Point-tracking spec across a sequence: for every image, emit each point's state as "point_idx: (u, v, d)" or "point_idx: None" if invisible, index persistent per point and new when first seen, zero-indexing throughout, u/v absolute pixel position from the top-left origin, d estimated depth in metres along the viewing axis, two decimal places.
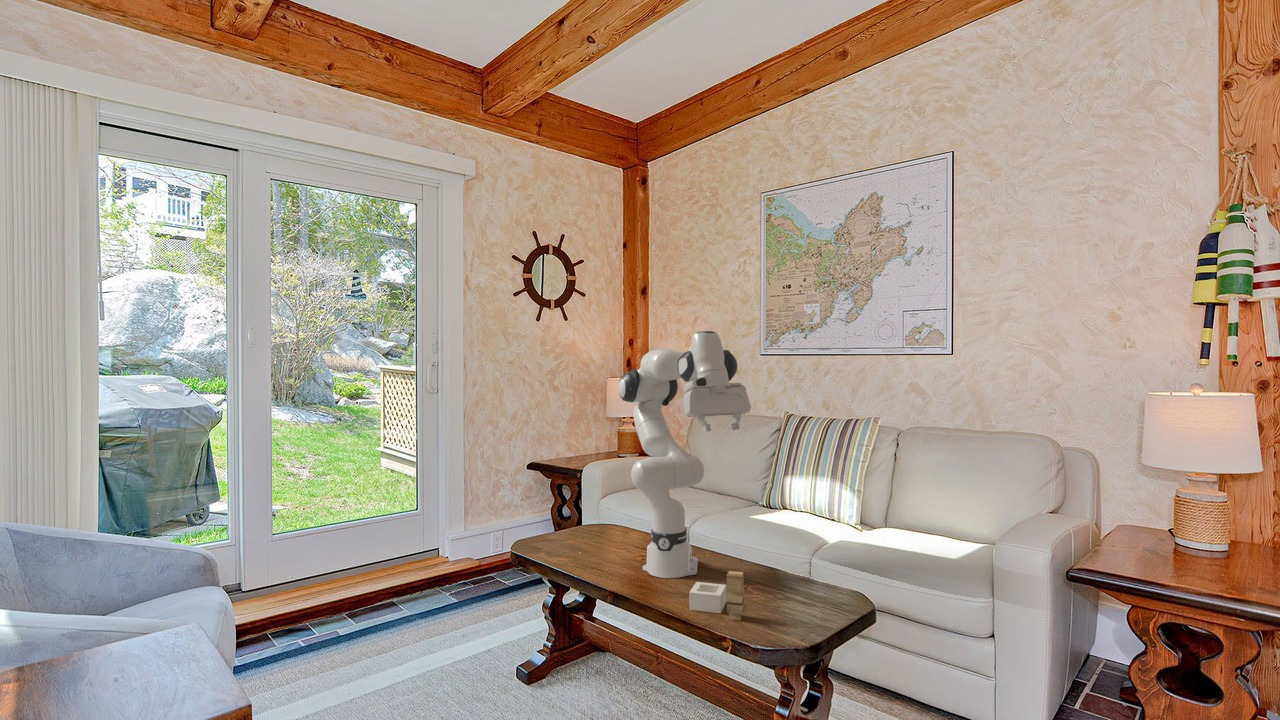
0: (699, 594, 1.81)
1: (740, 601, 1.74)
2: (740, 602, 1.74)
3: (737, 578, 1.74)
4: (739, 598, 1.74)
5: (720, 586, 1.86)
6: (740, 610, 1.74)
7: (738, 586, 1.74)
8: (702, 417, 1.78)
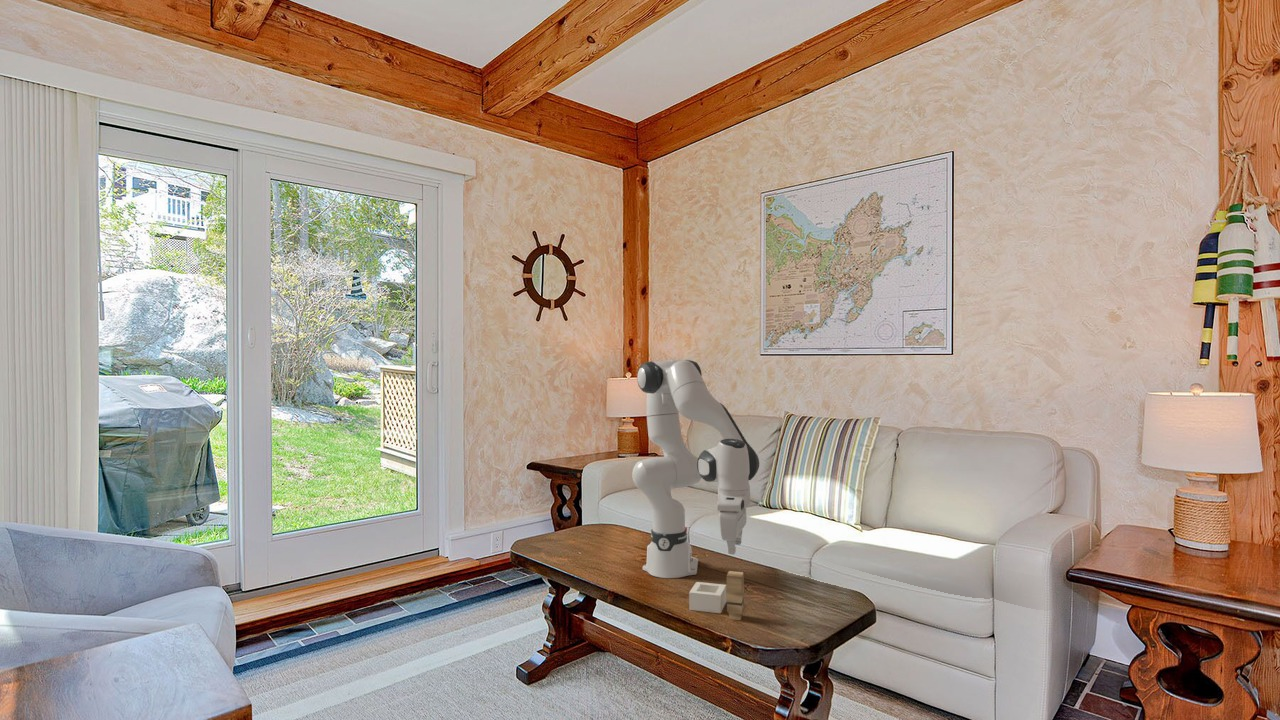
0: (699, 594, 1.81)
1: (740, 601, 1.74)
2: (740, 602, 1.74)
3: (737, 578, 1.74)
4: (739, 598, 1.74)
5: (720, 586, 1.86)
6: (740, 610, 1.74)
7: (738, 586, 1.74)
8: (734, 541, 1.70)
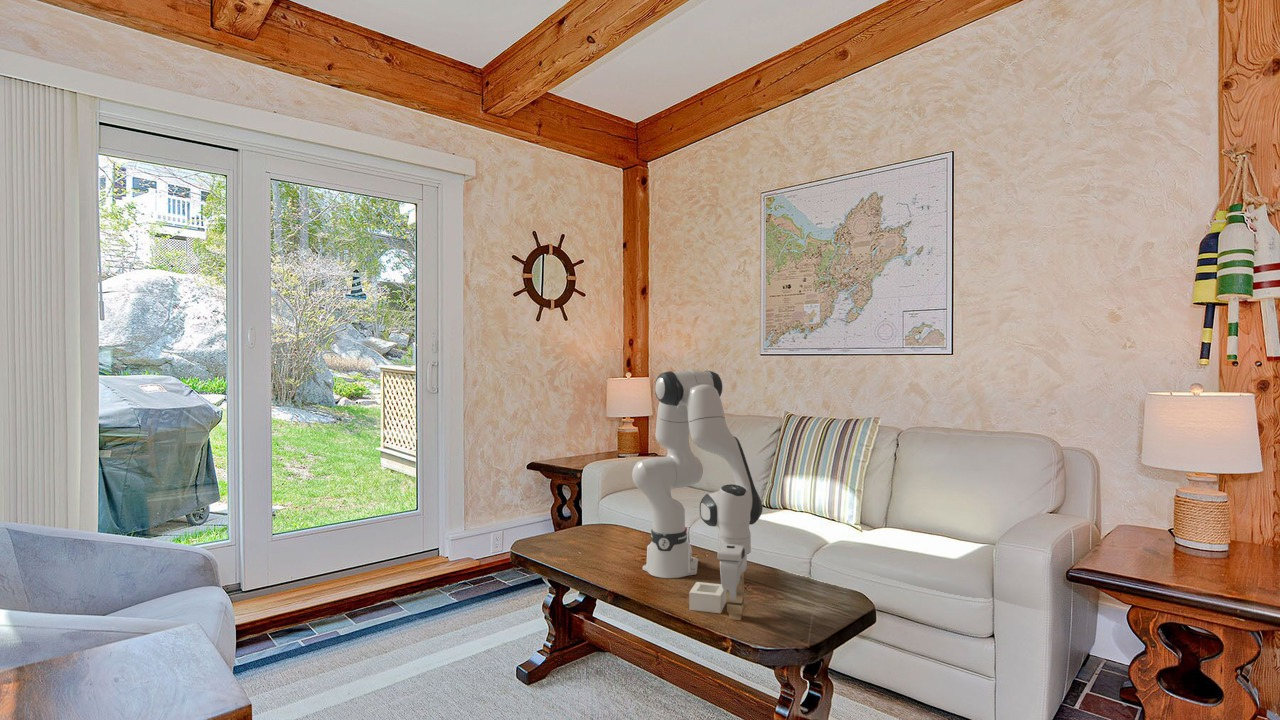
0: (699, 594, 1.81)
1: (740, 601, 1.74)
2: (740, 602, 1.74)
3: None
4: (739, 598, 1.74)
5: (720, 586, 1.86)
6: (740, 610, 1.74)
7: (738, 586, 1.74)
8: (736, 587, 1.72)
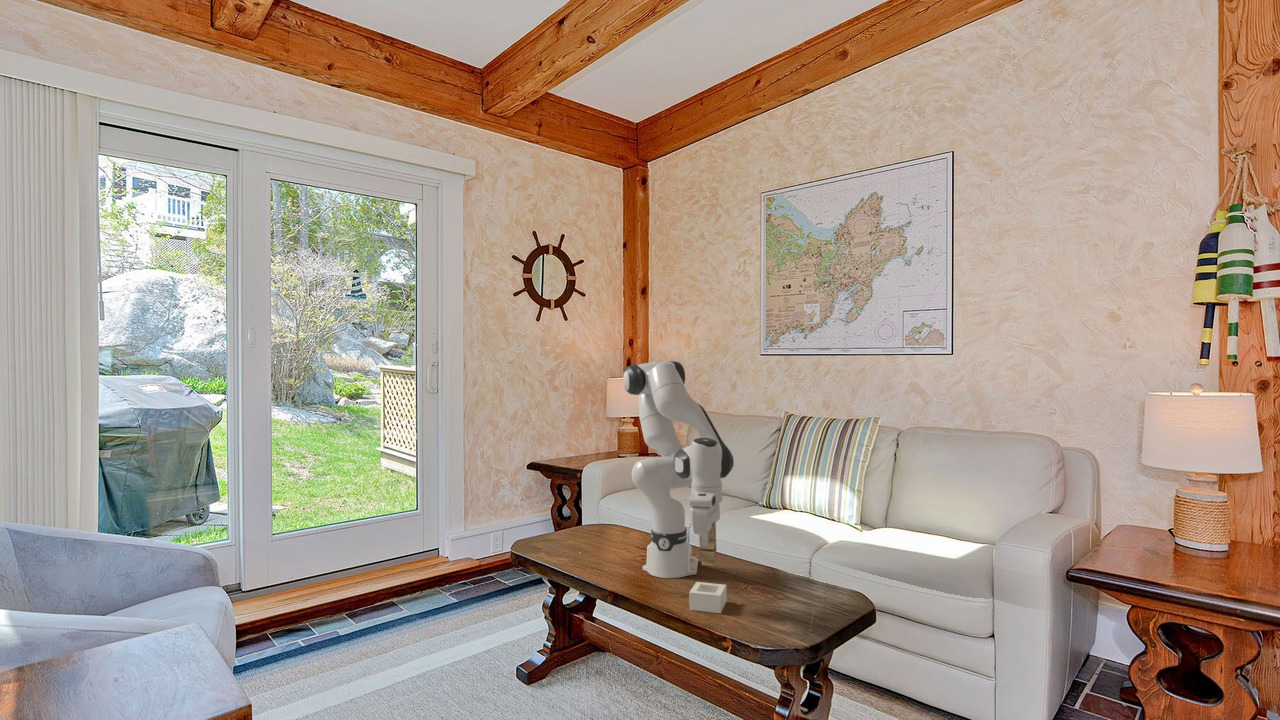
0: (699, 594, 1.81)
1: (712, 547, 1.82)
2: (712, 548, 1.82)
3: None
4: (711, 544, 1.82)
5: (720, 586, 1.86)
6: (712, 556, 1.82)
7: (710, 533, 1.82)
8: (708, 533, 1.80)
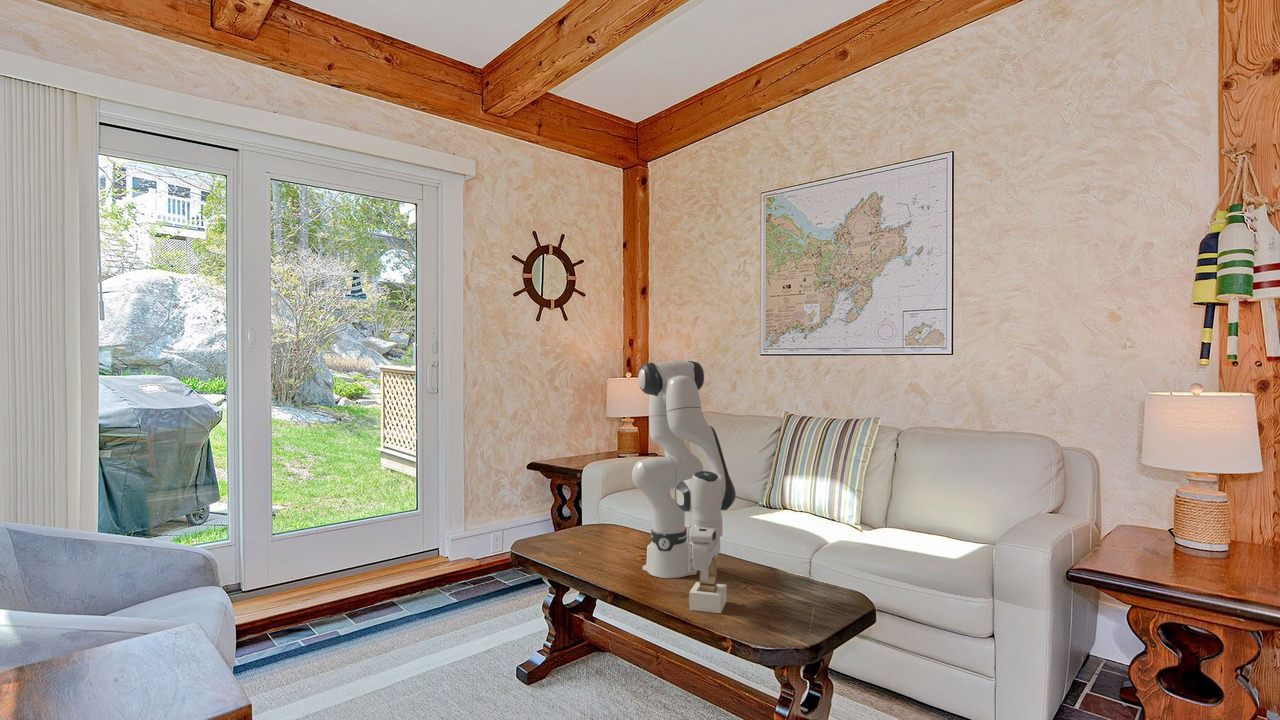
0: (699, 594, 1.81)
1: (712, 582, 1.82)
2: (712, 583, 1.82)
3: None
4: (711, 579, 1.82)
5: (720, 586, 1.86)
6: (712, 590, 1.82)
7: (710, 567, 1.82)
8: (708, 568, 1.80)
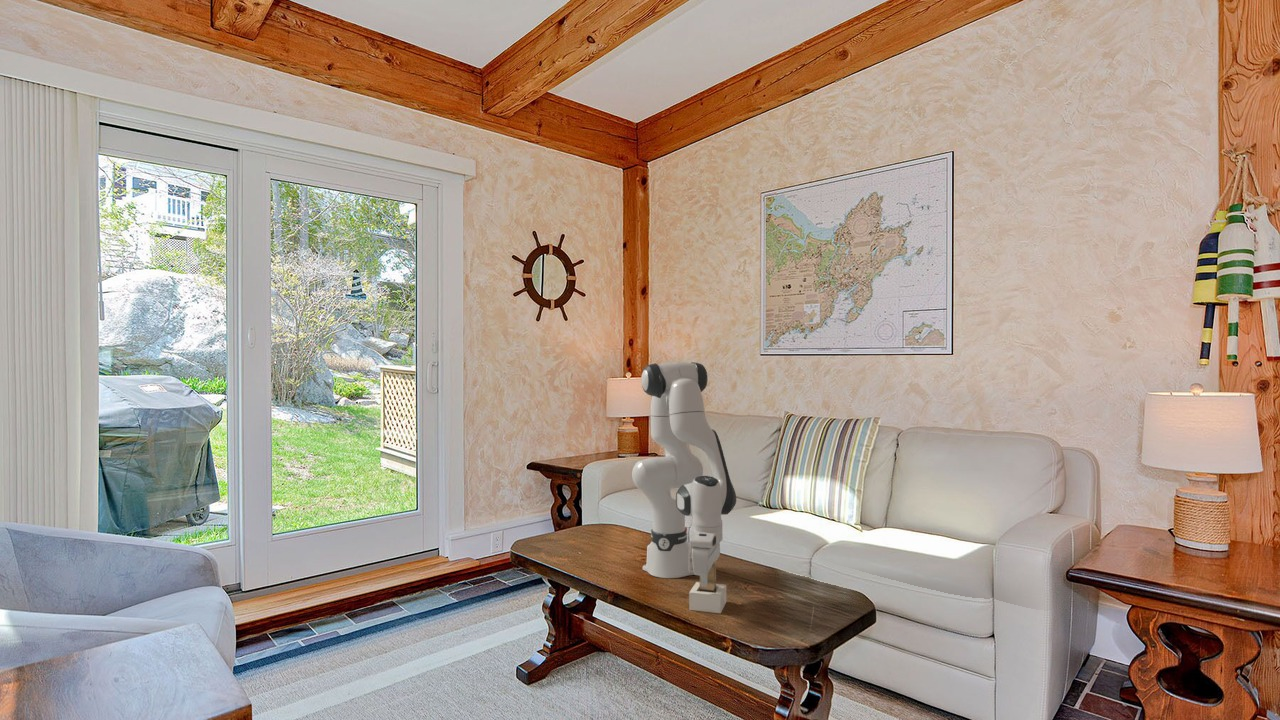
0: (699, 594, 1.81)
1: (712, 588, 1.82)
2: (712, 589, 1.82)
3: None
4: (711, 585, 1.82)
5: (720, 586, 1.86)
6: None
7: (710, 574, 1.82)
8: (707, 574, 1.79)
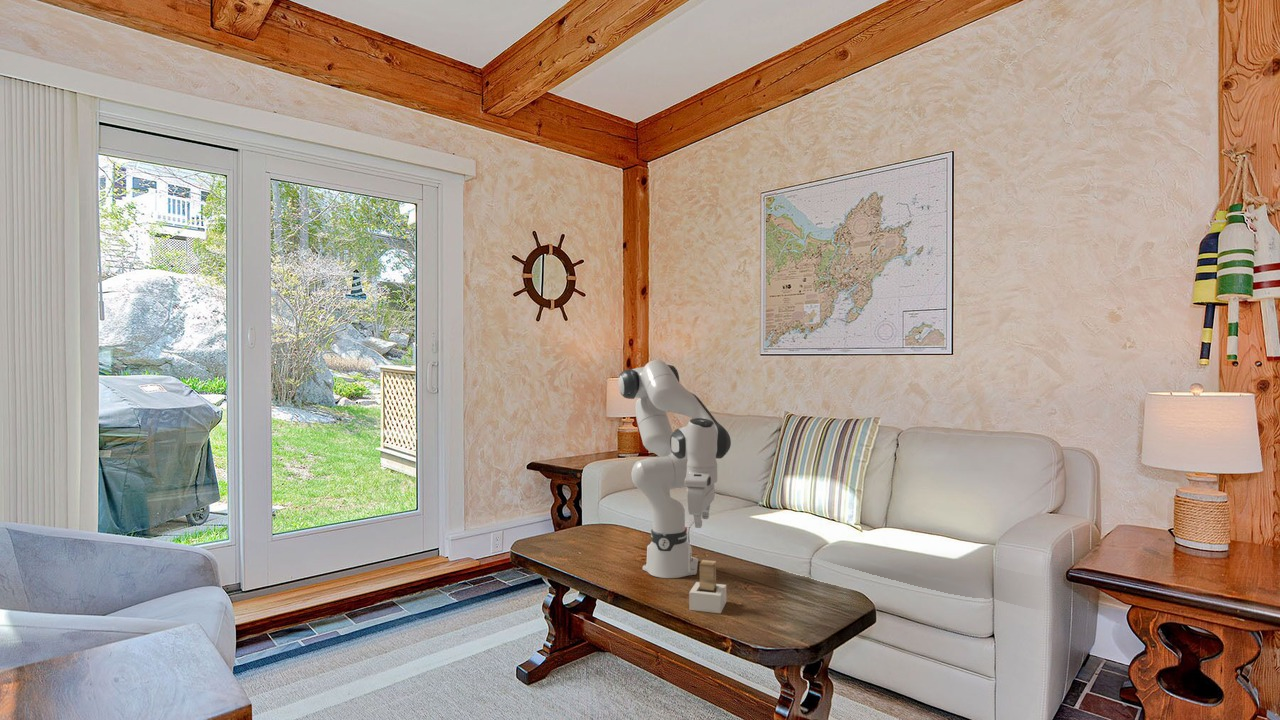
0: (699, 594, 1.81)
1: (712, 588, 1.82)
2: (712, 589, 1.82)
3: (710, 566, 1.82)
4: (711, 585, 1.82)
5: (720, 586, 1.86)
6: None
7: (710, 574, 1.82)
8: (701, 515, 1.78)
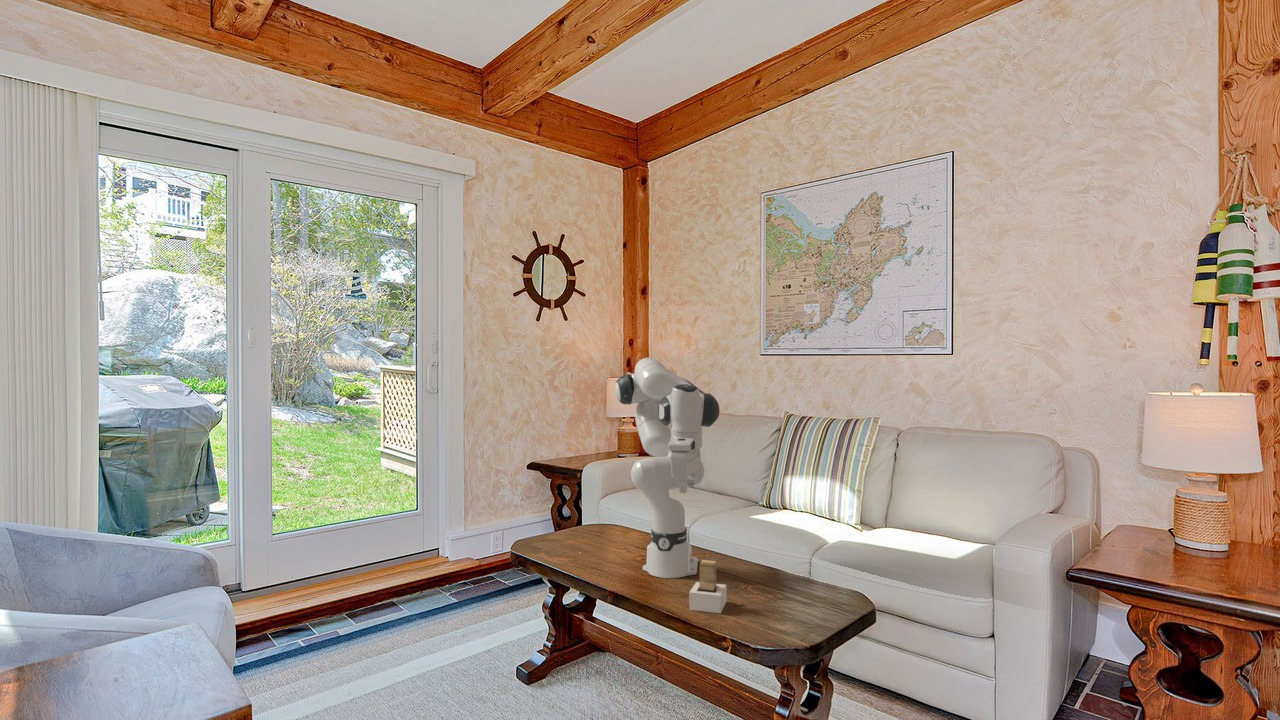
0: (699, 594, 1.81)
1: (712, 588, 1.82)
2: (712, 589, 1.82)
3: (710, 566, 1.82)
4: (711, 585, 1.82)
5: (720, 586, 1.86)
6: None
7: (710, 574, 1.82)
8: (685, 480, 1.77)
